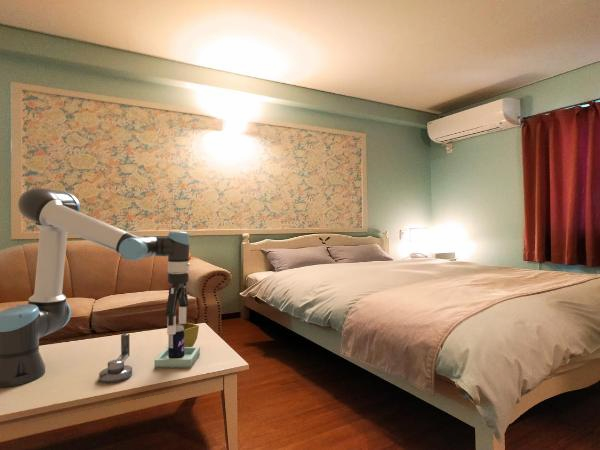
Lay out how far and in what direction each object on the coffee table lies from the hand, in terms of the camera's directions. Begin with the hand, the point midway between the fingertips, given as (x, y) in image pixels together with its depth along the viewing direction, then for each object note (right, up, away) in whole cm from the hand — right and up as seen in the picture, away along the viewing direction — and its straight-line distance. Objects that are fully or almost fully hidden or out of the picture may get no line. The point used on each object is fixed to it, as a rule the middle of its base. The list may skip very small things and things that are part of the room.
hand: (177, 328), depth 132 cm
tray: (0, -12, 0) cm, 12 cm away
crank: (-17, -10, -9) cm, 22 cm away
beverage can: (0, -12, 0) cm, 12 cm away
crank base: (-16, -12, -14) cm, 24 cm away
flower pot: (-2, -13, +15) cm, 20 cm away
